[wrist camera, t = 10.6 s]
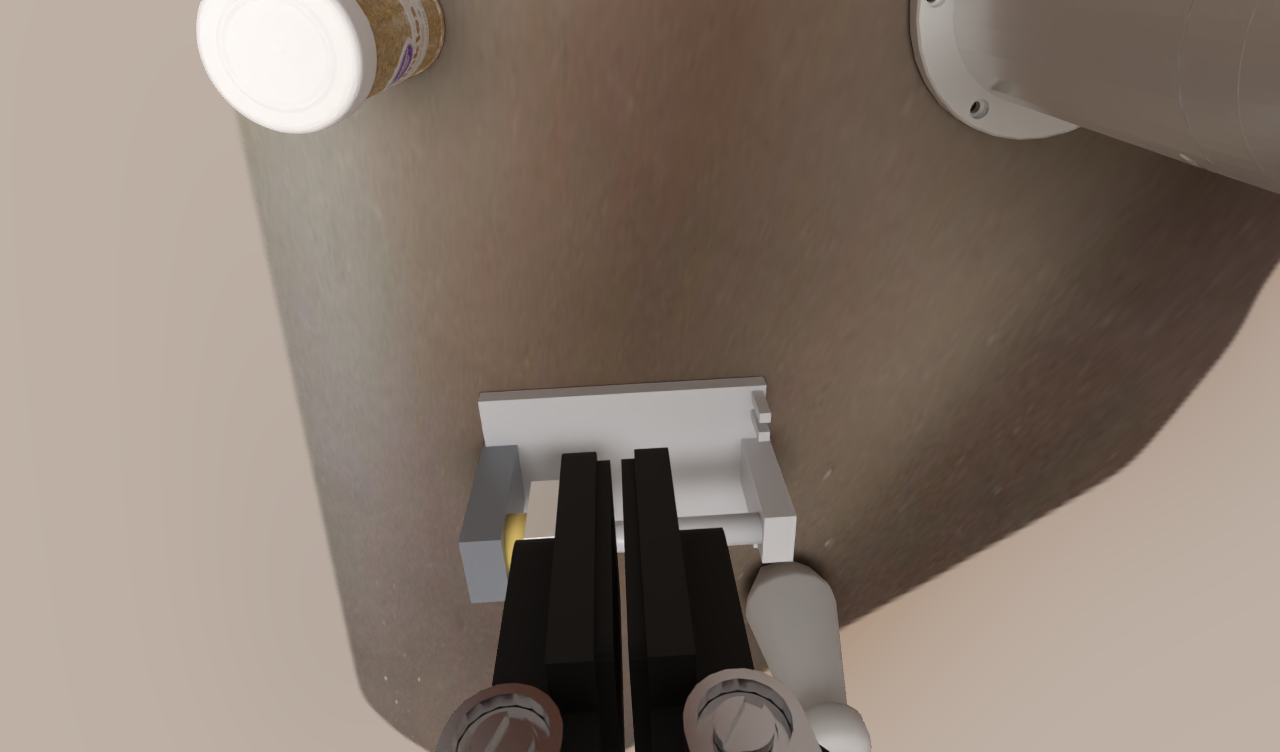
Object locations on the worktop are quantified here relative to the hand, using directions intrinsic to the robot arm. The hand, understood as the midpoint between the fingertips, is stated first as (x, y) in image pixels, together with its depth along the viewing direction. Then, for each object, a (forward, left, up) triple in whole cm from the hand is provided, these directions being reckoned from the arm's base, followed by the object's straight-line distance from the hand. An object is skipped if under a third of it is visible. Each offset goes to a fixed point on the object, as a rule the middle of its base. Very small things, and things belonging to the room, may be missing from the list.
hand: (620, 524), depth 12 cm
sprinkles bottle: (+9, -6, -27) cm, 29 cm away
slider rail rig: (0, +18, -27) cm, 33 cm away
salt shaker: (-10, +29, -27) cm, 41 cm away
